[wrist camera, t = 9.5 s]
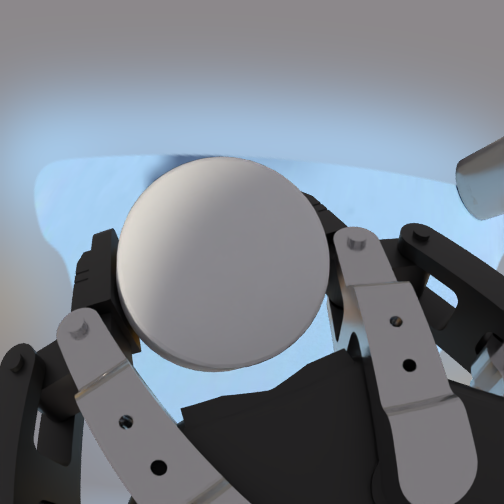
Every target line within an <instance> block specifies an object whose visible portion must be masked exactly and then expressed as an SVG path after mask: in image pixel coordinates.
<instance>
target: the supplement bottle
mask: <svg viewBox="0 0 504 504" xmlns="http://www.w3.org/2000/svg"><path fill="white" fill-rule="evenodd" d="M329 263H330V258H329V248H328V243H327V239H326V236H325V232H324V229H323V226H322V224H321V221H320V219H319V217H318V215H317V213H316V211H315V209H314V208H313V206H312V205H311V203H310V202H309V200H308V199H307V198H306V197H305V196H304V195H303V193H302V192H301V191H300V190H299V189H298V188H297V187H296V186H295V185H294V184H293V183H291V182H290V181H289V180H288V179H286V178H285V177H284V176H282V175H281V174H279V173H278V172H276V171H274V170H272V169H270V168H268V167H266V166H264V165H261V164H259V163H256V162H253V161H250V160H245V159H241V158H234V157H210V158H203V159H198V160H195V161H191V162H188V163H185V164H182V165H180V166H178V167H176V168H174V169H172V170H170V171H169V172H167V173H165V174H163V175H162V176H161V177H159V178H158V179H157V180H155V181H154V182H153V183H152V184H151V185H150V186H149V187H148V188H147V189H146V190H145V191H144V192H143V193H142V194H141V195H140V196H139V198H138V199H137V201H136V202H135V204H134V205H133V207H132V208H131V210H130V212H129V214H128V216H127V218H126V221H125V223H124V225H123V228H122V231H121V234H120V239H119V243H118V250H117V267H116V284H117V290H118V295H119V300H120V303H121V306H122V309H123V311H124V314H125V316H126V318H127V320H128V322H129V324H130V325H131V327H132V329H133V330H134V331H135V333H136V334H137V335H138V337H139V338H140V339H141V340H142V341H143V342H144V343H145V344H146V345H147V346H148V347H149V348H150V349H151V350H153V351H154V352H155V353H157V354H158V355H160V356H161V357H163V358H164V359H166V360H168V361H170V362H172V363H174V364H176V365H179V366H182V367H185V368H188V369H192V370H197V371H203V372H224V371H231V370H235V369H239V368H243V367H249V366H252V365H255V364H259V363H262V362H264V361H266V360H269V359H271V358H273V357H275V356H277V355H278V354H280V353H282V352H283V351H284V350H286V349H287V348H288V347H290V346H291V345H292V344H293V343H295V342H296V341H297V340H298V339H299V338H300V337H301V336H302V335H303V334H304V333H305V331H306V330H307V329H308V328H309V326H310V325H311V323H312V322H313V320H314V318H315V317H316V315H317V313H318V311H319V309H320V307H321V304H322V302H323V299H324V296H325V293H326V289H327V285H328V279H329Z"/></svg>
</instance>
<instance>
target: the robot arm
mask: <svg viewBox="0 0 504 504" xmlns="http://www.w3.org/2000/svg"><path fill="white" fill-rule="evenodd" d="M456 182H457V187H458V191H459V194H460V196H461V199H462V201H463V203H464V205H465V206H466V208H467V209H468V211H469V212H470V213H471V214H472V215H473V216H474V217H475V218H477V219H479V220H486V219H489V218H493V217H496V216H499V215H502V214H504V137H502V138H500V139H498V140H497V141H495V142H493V143H491V144H489V145H488V146H486V147H484V148H482V149H480V150H478V151H476V152H475V153H473V154H471V155H469V156H467V157H466V158H464V159H462V160H461V161H459V163H458V164H457V168H456ZM302 193H303V195H304V196H305V197H306V198H307V199H308V200H309V202H310V203H311V205H312V206H313V208H314V209H315V211H316V213H317V215H318V217H319V219H320V221H321V224H322V226H323V229H324V232H325V236H326V239H327V243H328V248H329V258H330V263H329V279H328V285H327V289H326V294H327V310H328V316H329V322H330V328H331V335H332V341H333V348H334V353H332V354H330V355H327V356H325V357H323V358H321V359H318V360H316V361H314V362H311V363H309V364H307V365H306V366H304V367H303V368H302V369H300V370H299V371H298V372H296V373H295V374H294V375H292V376H291V377H289V378H288V379H287V380H285V381H284V382H282V383H281V384H280V385H278V386H277V387H275V388H273V389H271V390H269V391H262V392H255V393H246V394H237V395H227V396H221V397H218V398H215V399H211V400H208V401H205V402H202V403H198V404H195V405H191V406H188V407H184V408H181V412H182V416H183V419H184V420H183V421H181V422H179V423H178V424H177V422H176V421H175V420H174V419H173V418H172V416H171V415H170V414H169V413H168V412H167V410H166V409H165V408H164V407H163V405H162V404H161V403H160V402H159V400H158V399H157V398H156V396H155V395H154V394H153V393H152V391H151V390H150V389H149V387H148V386H147V385H146V383H145V382H144V380H143V379H142V378H141V376H140V375H139V373H138V372H137V371H136V369H135V368H134V367H133V360H132V354H135V353H138V352H141V346H140V339H139V337H138V335H137V334H136V333H135V331H134V330H133V329H132V327H131V325H130V324H129V322H128V320H127V318H126V316H125V314H124V311H123V309H122V306H121V303H120V300H119V295H118V290H117V284H116V267H117V250H118V243H119V239H118V237H117V234H116V232H115V230H114V229H113V228H112V229H109V230H106V231H103V232H100V233H97V234H94V235H93V239H92V247H91V250H90V251H87V252H84V253H83V255H82V256H81V258H80V259H79V261H78V263H77V267H76V276H75V281H74V283H75V284H74V289H73V297H72V307H71V313H69V314H68V315H67V316H66V317H64V319H63V320H62V321H61V323H60V324H59V326H58V329H57V333H56V338H57V339H56V340H55V341H54V342H52V343H51V344H49V345H47V346H46V347H44V348H43V349H41V350H39V351H38V352H36V351H35V350H34V349H33V348H32V347H31V346H30V345H29V344H25V343H23V344H18V345H16V346H14V347H12V348H11V349H10V350H9V351H8V352H7V353H6V355H5V356H4V358H3V360H2V362H1V365H0V504H81V503H80V502H81V501H80V479H81V451H82V436H83V425H84V419H85V421H86V423H87V424H88V426H89V428H90V430H91V432H92V434H93V435H94V437H95V439H96V441H97V443H98V445H99V446H100V448H101V450H102V451H103V453H104V455H105V456H106V458H107V460H108V461H109V463H110V464H111V466H112V468H113V469H114V471H115V472H116V474H117V475H118V477H119V478H120V480H121V481H122V483H123V484H124V486H125V487H126V488H127V490H128V491H129V493H130V494H131V498H130V500H129V502H128V504H504V276H503V275H502V274H500V273H499V272H497V271H496V270H495V269H493V268H492V267H490V266H489V265H488V264H486V263H485V262H483V261H482V260H480V259H479V258H477V257H476V256H474V255H473V254H471V253H470V252H468V251H467V250H465V249H464V248H462V247H461V246H459V245H458V244H456V243H454V242H453V241H451V240H450V239H448V238H447V237H445V236H443V235H442V234H440V233H438V232H437V231H435V230H434V229H432V228H430V227H428V226H426V225H423V224H418V223H410V224H406V225H404V226H403V227H402V228H401V231H400V236H399V238H396V239H382V240H379V239H378V237H377V236H376V235H375V234H374V233H373V232H371V231H369V230H367V229H364V228H360V227H347V226H346V225H345V224H344V223H343V222H342V221H341V220H340V219H338V218H337V217H336V216H335V215H334V214H333V213H332V212H330V211H329V210H327V208H326V207H325V206H324V205H322V204H321V203H320V202H319V201H318V200H317V199H315V198H314V197H313V196H311V195H309V194H306V193H304V192H302ZM430 275H432V276H433V277H435V278H436V279H437V280H439V281H440V282H442V283H443V284H444V285H446V286H447V287H448V288H450V289H451V290H452V291H454V293H455V294H456V296H457V298H458V305H457V307H456V308H454V307H453V306H452V305H450V304H449V303H448V302H446V301H445V300H444V299H442V298H441V297H440V296H438V295H437V294H436V293H434V292H433V291H432V290H430V289H429V288H428V287H426V284H427V282H428V279H429V276H430ZM436 344H437V345H438V346H439V347H440V348H441V349H442V350H444V351H445V352H446V353H447V354H448V355H450V356H451V357H452V358H453V359H454V360H455V361H457V362H458V363H459V364H460V365H461V366H462V367H463V368H465V369H466V370H467V371H468V372H469V373H470V374H471V375H472V378H473V379H472V380H471V382H470V386H467V385H464V384H461V383H458V382H455V381H452V380H449V379H447V377H446V373H445V370H444V367H443V364H442V361H441V358H440V355H439V352H438V349H437V347H436ZM37 411H39V412H41V413H42V415H41V422H40V428H39V436H38V444H37V450H36V448H35V445H34V430H35V423H36V417H37Z"/></svg>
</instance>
